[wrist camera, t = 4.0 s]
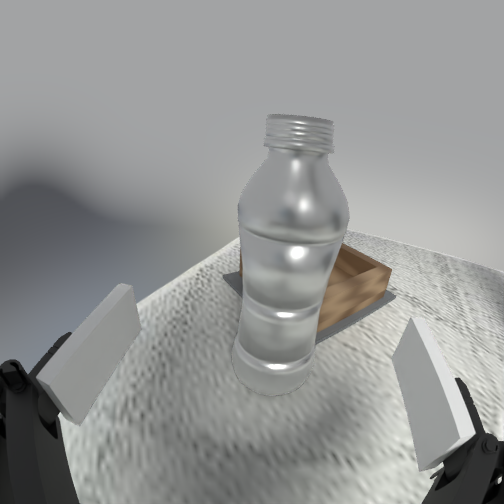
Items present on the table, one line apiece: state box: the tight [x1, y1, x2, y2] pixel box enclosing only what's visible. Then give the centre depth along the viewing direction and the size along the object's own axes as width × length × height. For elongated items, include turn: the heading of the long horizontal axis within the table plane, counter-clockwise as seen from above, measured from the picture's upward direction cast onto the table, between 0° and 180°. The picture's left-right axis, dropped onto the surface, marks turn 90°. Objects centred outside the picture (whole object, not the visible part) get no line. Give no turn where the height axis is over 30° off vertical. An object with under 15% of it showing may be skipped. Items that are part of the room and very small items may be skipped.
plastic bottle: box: [231, 114, 349, 396], centre depth 18 cm, size 6×7×20 cm
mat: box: [223, 271, 396, 344], centre depth 35 cm, size 18×16×1 cm
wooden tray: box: [239, 243, 392, 332], centre depth 34 cm, size 14×14×4 cm
